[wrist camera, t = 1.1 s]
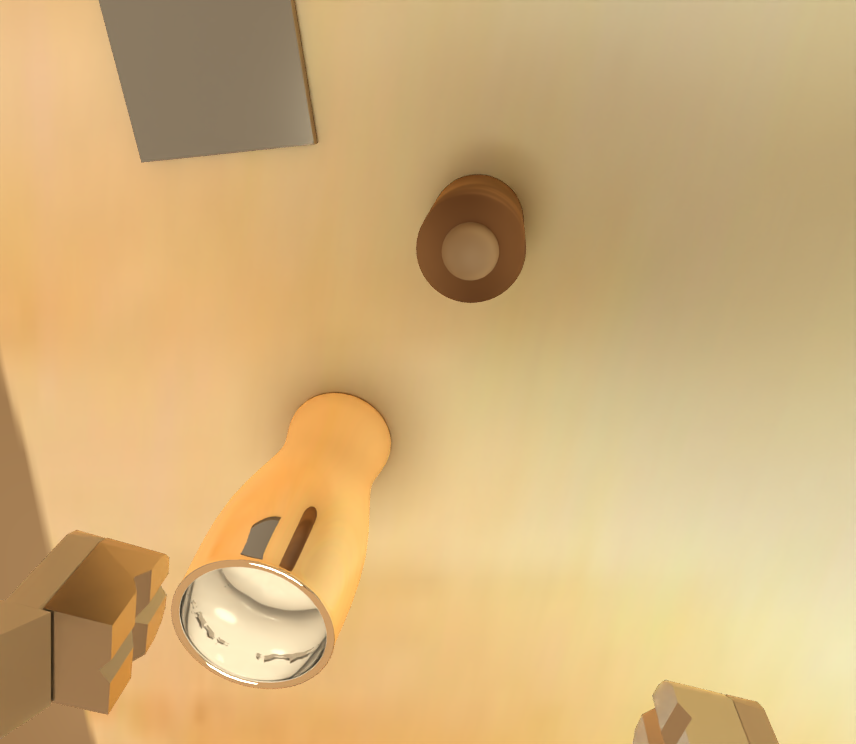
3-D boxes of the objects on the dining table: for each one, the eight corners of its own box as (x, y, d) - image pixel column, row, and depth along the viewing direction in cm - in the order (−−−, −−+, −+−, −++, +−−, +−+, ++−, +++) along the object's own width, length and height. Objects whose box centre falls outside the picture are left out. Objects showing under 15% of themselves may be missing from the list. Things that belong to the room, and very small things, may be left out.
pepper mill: (521, 170, 32) (523, 195, 26) (525, 263, 34) (529, 309, 28) (426, 178, 33) (405, 205, 26) (436, 269, 35) (418, 316, 28)
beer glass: (281, 378, 39) (156, 545, 25) (402, 391, 38) (341, 569, 24) (284, 480, 41) (173, 680, 28) (395, 494, 41) (338, 704, 27)
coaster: (282, -72, 29) (278, -75, 29) (317, 142, 33) (314, 144, 32) (94, -43, 31) (86, -45, 30) (147, 160, 34) (141, 162, 34)
